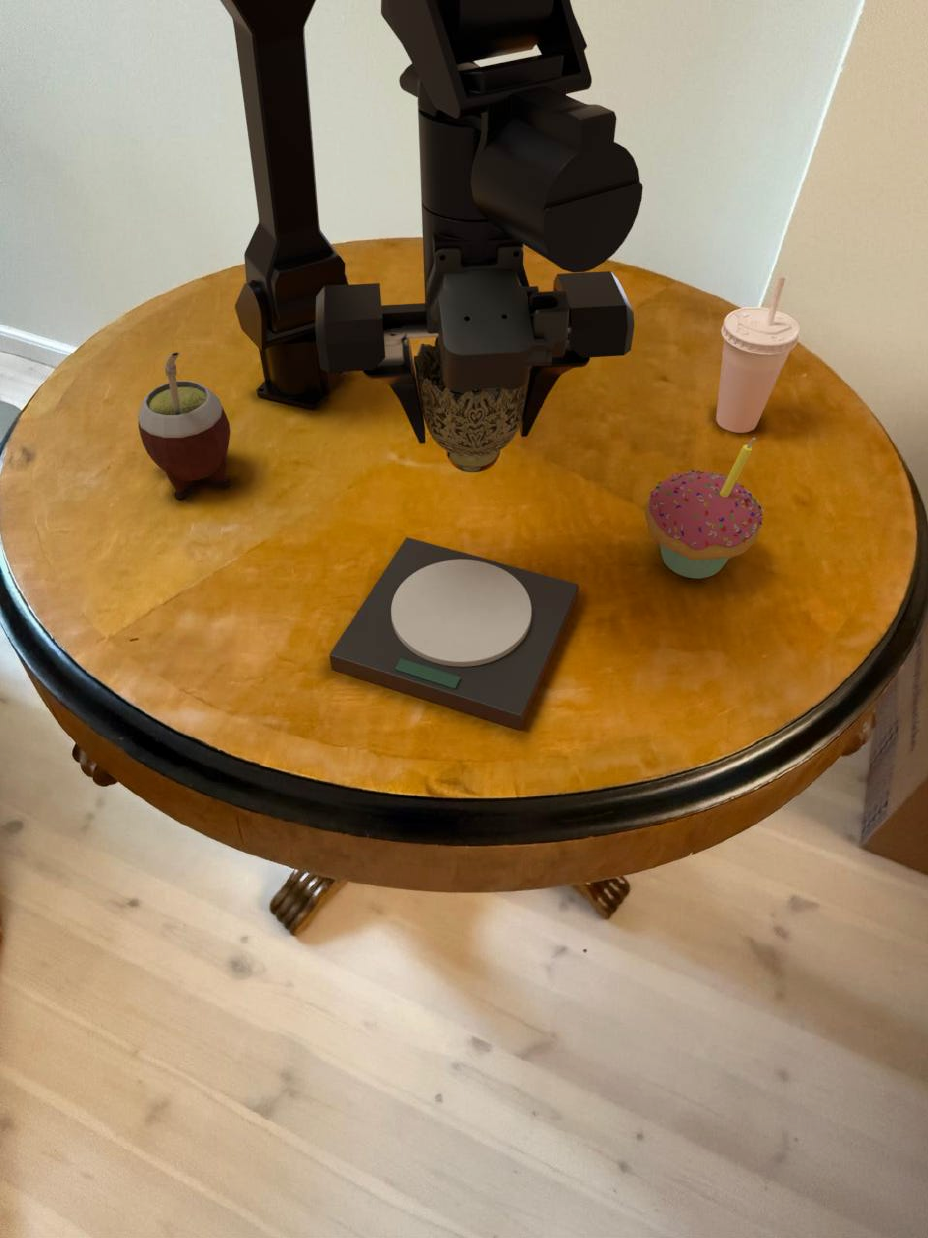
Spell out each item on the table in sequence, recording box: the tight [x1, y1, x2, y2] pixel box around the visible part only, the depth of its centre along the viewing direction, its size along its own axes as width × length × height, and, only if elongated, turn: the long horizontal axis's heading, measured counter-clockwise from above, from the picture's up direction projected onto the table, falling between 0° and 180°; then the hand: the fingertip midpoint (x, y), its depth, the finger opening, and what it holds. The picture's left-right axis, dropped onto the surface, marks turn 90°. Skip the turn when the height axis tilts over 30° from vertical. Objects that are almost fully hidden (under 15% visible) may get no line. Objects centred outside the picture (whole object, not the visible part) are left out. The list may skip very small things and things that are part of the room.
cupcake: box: [644, 437, 765, 580], centre depth 66 cm, size 9×8×12 cm
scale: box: [328, 536, 580, 731], centre depth 64 cm, size 14×13×2 cm
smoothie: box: [715, 274, 801, 434], centre depth 78 cm, size 6×6×14 cm
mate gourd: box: [137, 351, 232, 501], centre depth 71 cm, size 8×8×15 cm
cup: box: [413, 337, 532, 473], centre depth 59 cm, size 8×7×8 cm
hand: (472, 436), depth 60 cm, fingers closed on cup, 6 cm apart
